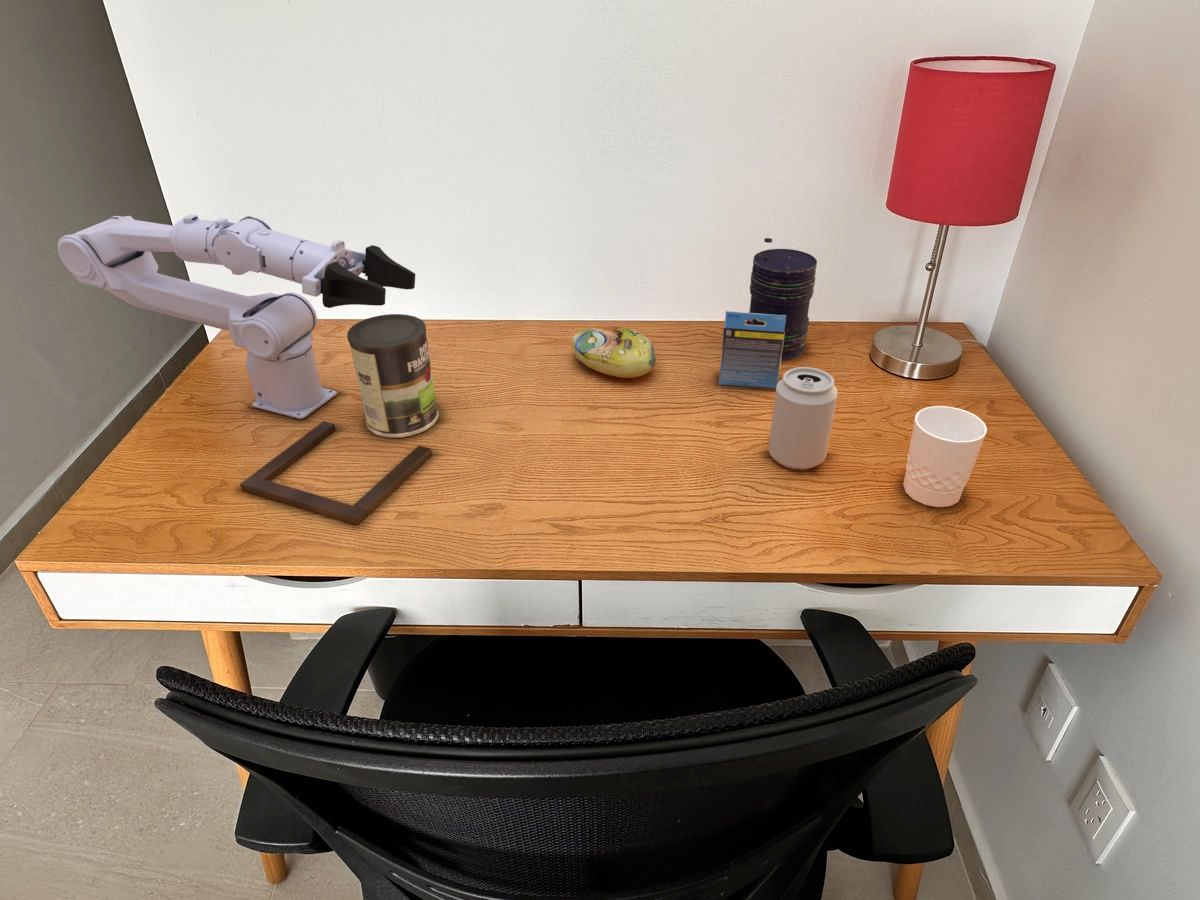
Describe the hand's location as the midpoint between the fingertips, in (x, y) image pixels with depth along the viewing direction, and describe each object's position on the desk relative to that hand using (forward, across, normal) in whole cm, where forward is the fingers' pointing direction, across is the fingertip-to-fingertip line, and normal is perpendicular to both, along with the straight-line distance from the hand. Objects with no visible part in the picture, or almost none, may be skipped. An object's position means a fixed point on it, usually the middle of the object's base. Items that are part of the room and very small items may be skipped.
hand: (399, 289), depth 102 cm
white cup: (+71, +5, +9) cm, 72 cm away
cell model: (+24, +26, +14) cm, 38 cm away
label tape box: (+45, +26, +10) cm, 53 cm away
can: (+54, +8, +11) cm, 56 cm away
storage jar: (+48, +39, +8) cm, 62 cm away
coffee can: (0, +3, +20) cm, 21 cm away
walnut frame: (-1, -10, +22) cm, 24 cm away
